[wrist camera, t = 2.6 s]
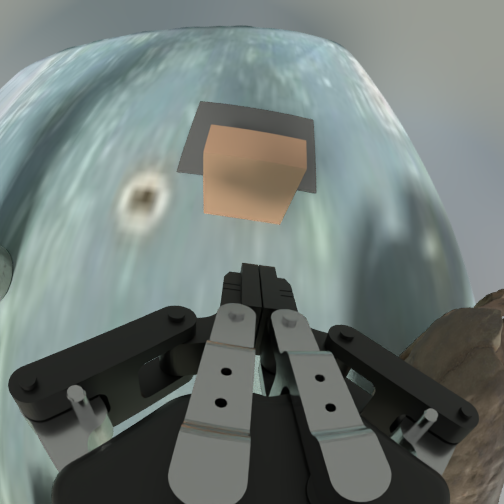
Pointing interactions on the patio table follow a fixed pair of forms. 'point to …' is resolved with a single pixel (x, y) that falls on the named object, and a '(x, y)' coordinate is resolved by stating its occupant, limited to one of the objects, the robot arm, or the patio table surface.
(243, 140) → the peach block
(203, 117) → the charcoal mat
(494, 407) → the clay pot
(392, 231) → the patio table surface
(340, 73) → the patio table surface
